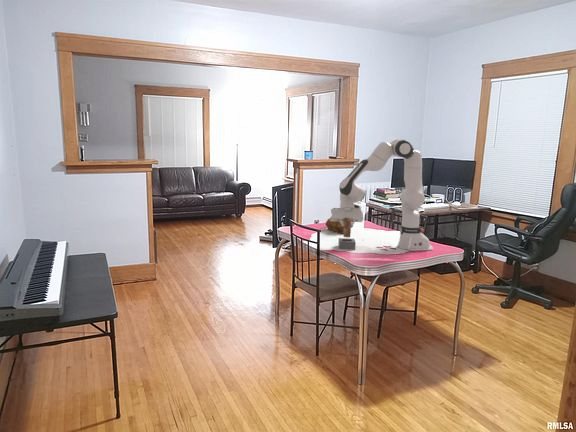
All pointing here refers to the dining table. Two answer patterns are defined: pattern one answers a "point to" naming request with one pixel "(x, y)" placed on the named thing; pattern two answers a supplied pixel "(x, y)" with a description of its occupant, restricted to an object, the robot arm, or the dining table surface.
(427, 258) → the dining table surface
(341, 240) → the charcoal end cap
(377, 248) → the dining table surface
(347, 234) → the walnut slat
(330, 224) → the rough brown rock
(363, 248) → the cream base board
